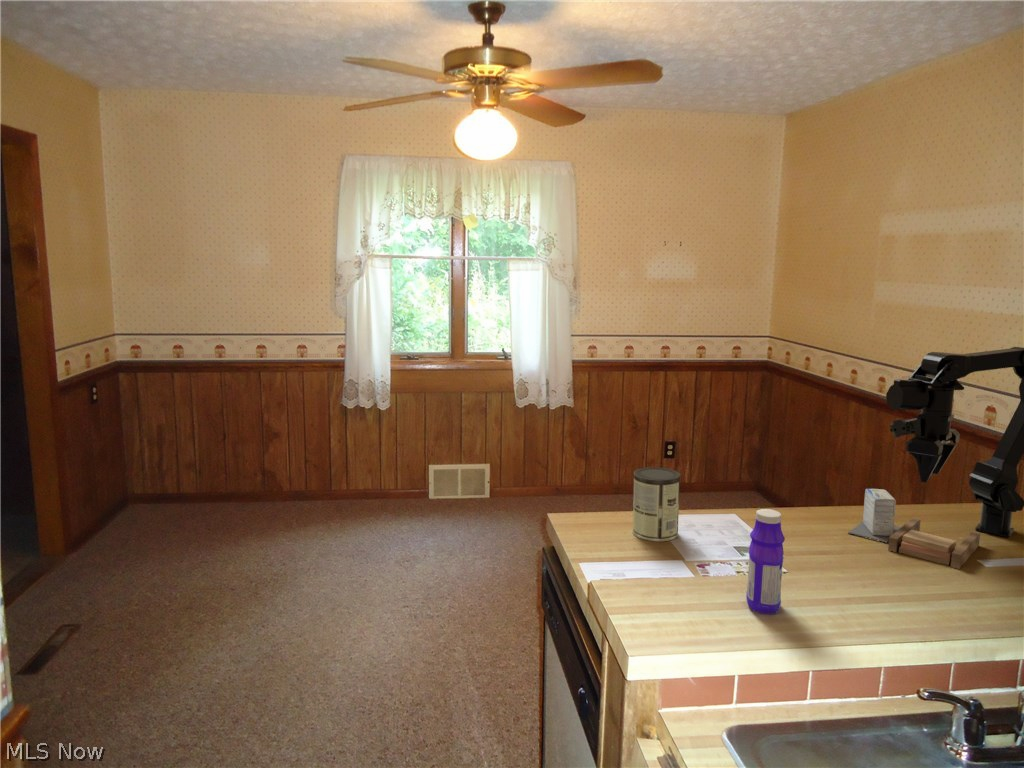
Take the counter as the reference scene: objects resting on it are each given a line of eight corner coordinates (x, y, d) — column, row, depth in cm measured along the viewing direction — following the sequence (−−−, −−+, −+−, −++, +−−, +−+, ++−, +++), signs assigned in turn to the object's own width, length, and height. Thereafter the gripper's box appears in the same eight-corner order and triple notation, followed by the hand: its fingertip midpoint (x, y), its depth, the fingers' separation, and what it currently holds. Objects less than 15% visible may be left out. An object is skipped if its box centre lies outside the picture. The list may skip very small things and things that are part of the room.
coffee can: (641, 522, 162) (643, 464, 159) (684, 530, 156) (686, 471, 154) (624, 535, 153) (626, 475, 151) (668, 545, 147) (671, 482, 145)
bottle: (782, 618, 116) (788, 521, 113) (747, 614, 118) (752, 517, 115) (777, 599, 123) (784, 507, 120) (744, 595, 124) (750, 504, 122)
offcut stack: (907, 544, 148) (908, 528, 148) (956, 557, 142) (958, 540, 141) (898, 553, 144) (899, 536, 143) (948, 566, 137) (950, 549, 137)
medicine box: (893, 537, 151) (897, 499, 150) (871, 535, 152) (874, 498, 151) (882, 524, 159) (885, 489, 158) (861, 523, 160) (864, 487, 158)
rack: (912, 530, 157) (913, 517, 156) (978, 545, 148) (980, 532, 147) (888, 550, 145) (889, 537, 144) (959, 569, 136) (960, 554, 135)
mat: (866, 520, 163) (866, 519, 163) (903, 529, 157) (903, 527, 157) (848, 533, 154) (848, 532, 154) (886, 543, 149) (886, 541, 149)
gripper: (908, 399, 163) (902, 462, 165) (883, 410, 150) (877, 478, 152) (963, 405, 155) (956, 472, 157) (941, 417, 142) (933, 489, 144)
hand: (929, 477), depth 153 cm, fingers open, 9 cm apart
